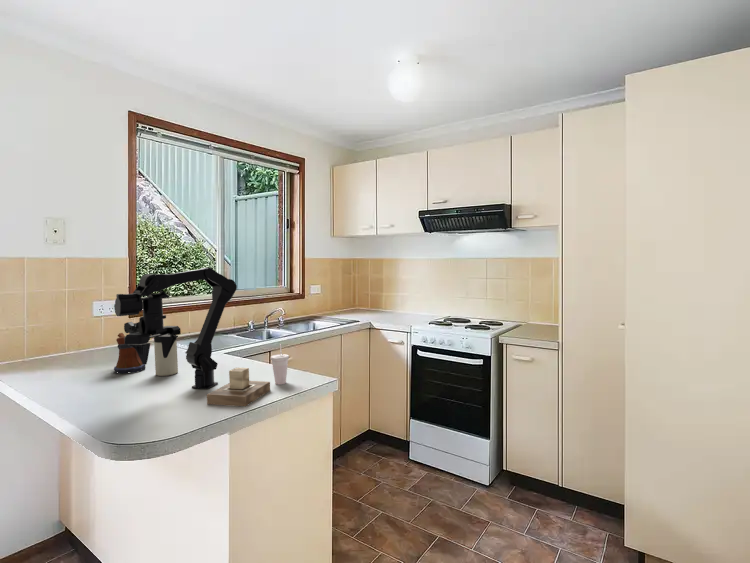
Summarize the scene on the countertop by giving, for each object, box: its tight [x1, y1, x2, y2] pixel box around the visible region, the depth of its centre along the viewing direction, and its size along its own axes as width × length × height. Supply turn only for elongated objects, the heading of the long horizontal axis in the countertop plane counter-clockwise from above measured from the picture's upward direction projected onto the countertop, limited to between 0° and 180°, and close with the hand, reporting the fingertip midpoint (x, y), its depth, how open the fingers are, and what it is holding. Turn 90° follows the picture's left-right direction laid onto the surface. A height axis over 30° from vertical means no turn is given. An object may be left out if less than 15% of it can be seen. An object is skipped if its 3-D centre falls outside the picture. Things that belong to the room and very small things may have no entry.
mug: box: [113, 332, 146, 374], centre depth 179 cm, size 18×12×15 cm, turn 43°
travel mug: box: [153, 336, 179, 377], centre depth 170 cm, size 8×8×18 cm
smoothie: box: [270, 343, 290, 385], centre depth 154 cm, size 6×6×14 cm
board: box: [206, 380, 271, 407], centre depth 139 cm, size 16×13×3 cm
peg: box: [228, 367, 250, 390], centre depth 139 cm, size 4×4×9 cm
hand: (155, 361), depth 140 cm, fingers open, 9 cm apart
